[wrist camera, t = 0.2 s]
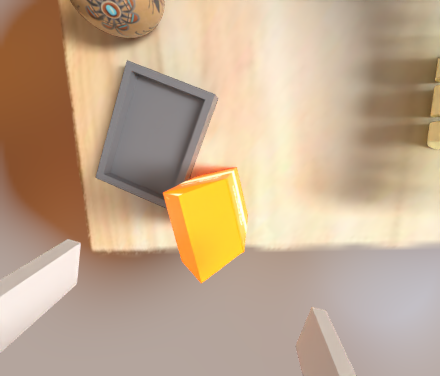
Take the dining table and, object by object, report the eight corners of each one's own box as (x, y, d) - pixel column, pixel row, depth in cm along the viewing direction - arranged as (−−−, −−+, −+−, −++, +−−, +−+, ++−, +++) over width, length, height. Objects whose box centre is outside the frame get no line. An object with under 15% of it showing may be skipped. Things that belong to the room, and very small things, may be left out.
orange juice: (237, 166, 39) (220, 185, 19) (248, 215, 40) (242, 280, 20) (194, 176, 40) (137, 203, 21) (206, 223, 41) (163, 290, 22)
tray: (136, 66, 38) (126, 60, 35) (218, 98, 37) (215, 94, 34) (106, 175, 43) (95, 177, 40) (178, 206, 42) (173, 211, 39)
